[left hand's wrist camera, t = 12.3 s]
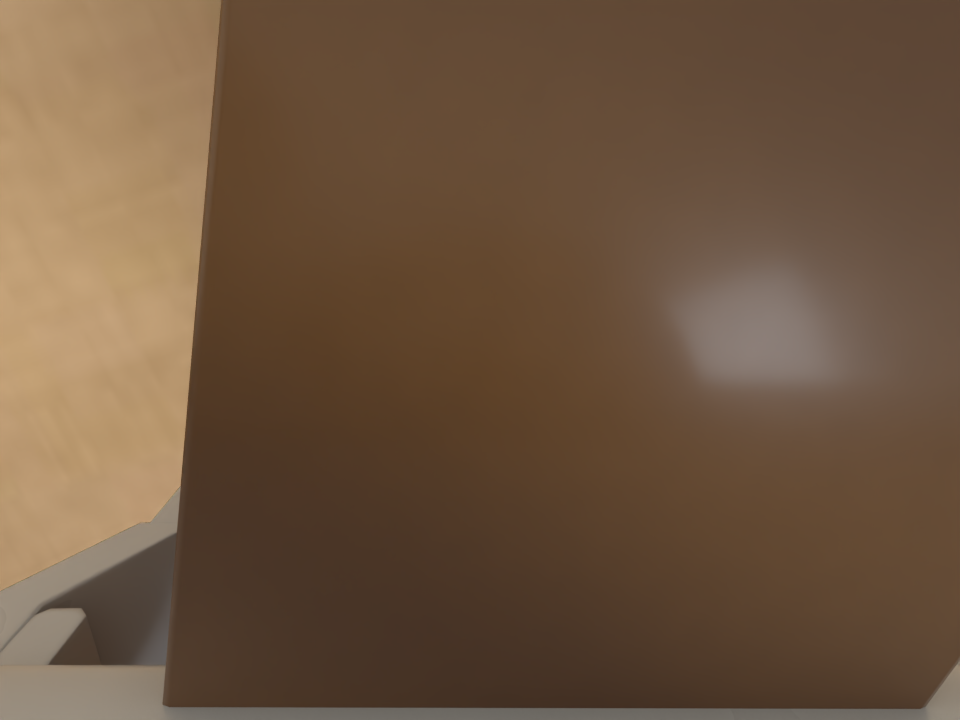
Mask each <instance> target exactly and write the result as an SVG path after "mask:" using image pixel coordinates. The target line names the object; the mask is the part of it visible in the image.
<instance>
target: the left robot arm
mask: <svg viewBox="0 0 960 720" xmlns="http://www.w3.org/2000/svg"><path fill="white" fill-rule="evenodd" d="M180 489H181V486H180V487H179V489H178V490H177V491H176V492H175V493H174V495H173V496H172V497H171V498H170V499H169V501H168V502H167V503H166V504H165V505H164V507H163V508H162V509H161V510H160V511H159V513H158V514H157V515H156V516H155V517H154V519H153V520H152V521H151V522H150V523H139V524H137V525H135V526H133V527H131V528H129V529H126V530H124V531H122V532H120V533H118V534H116V535H114V536H112V537H110V538H108V539H106V540H104V541H102V542H100V543H98V544H96V545H94V546H92V547H90V548H88V549H86V550H84V551H81V552H79V553H77V554H75V555H73V556H71V557H69V558H67V559H65V560H63V561H61V562H59V563H57V564H55V565H53V566H51V567H49V568H47V569H45V570H43V571H41V572H38V573H36V574H34V575H32V576H30V577H28V578H26V579H24V580H22V581H20V582H18V583H16V584H14V585H12V586H10V587H8V588H6V589H4V590H2V591H0V720H960V661H959V662H958V664H957V665H956V666H955V668H954V669H953V670H952V672H951V673H950V674H949V676H948V677H947V678H946V680H945V681H944V682H943V684H942V685H941V686H940V688H939V689H938V691H937V692H936V693H935V695H934V696H933V697H932V699H931V700H930V701H929V703H928V704H927V705H926V707H923V708H921V709H713V708H291V707H167V706H165V705H162V704H163V692H164V680H165V668H166V656H167V644H168V632H169V620H170V608H171V596H172V584H173V573H174V561H175V549H176V537H177V525H178V513H179V501H180Z"/></svg>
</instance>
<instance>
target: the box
mask: <svg viewBox="0 0 960 720" xmlns="http://www.w3.org/2000/svg"><path fill="white" fill-rule="evenodd" d="M959 661H960V0H221V12H220V24H219V36H218V48H217V60H216V72H215V84H214V96H213V108H212V120H211V132H210V143H209V155H208V167H207V179H206V191H205V203H204V215H203V227H202V239H201V251H200V263H199V275H198V286H197V298H196V310H195V322H194V334H193V346H192V358H191V370H190V382H189V394H188V406H187V418H186V429H185V441H184V453H183V465H182V477H181V489H180V501H179V513H178V525H177V537H176V549H175V561H174V573H173V584H172V596H171V608H170V620H169V632H168V644H167V656H166V668H165V680H164V692H163V704H162V705H165V706H167V707H291V708H713V709H921V708H923V707H926V705H927V704H928V703H929V701H930V700H931V699H932V697H933V696H934V695H935V693H936V692H937V691H938V689H939V688H940V686H941V685H942V684H943V682H944V681H945V680H946V678H947V677H948V676H949V674H950V673H951V672H952V670H953V669H954V668H955V666H956V665H957V664H958V662H959Z"/></svg>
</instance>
